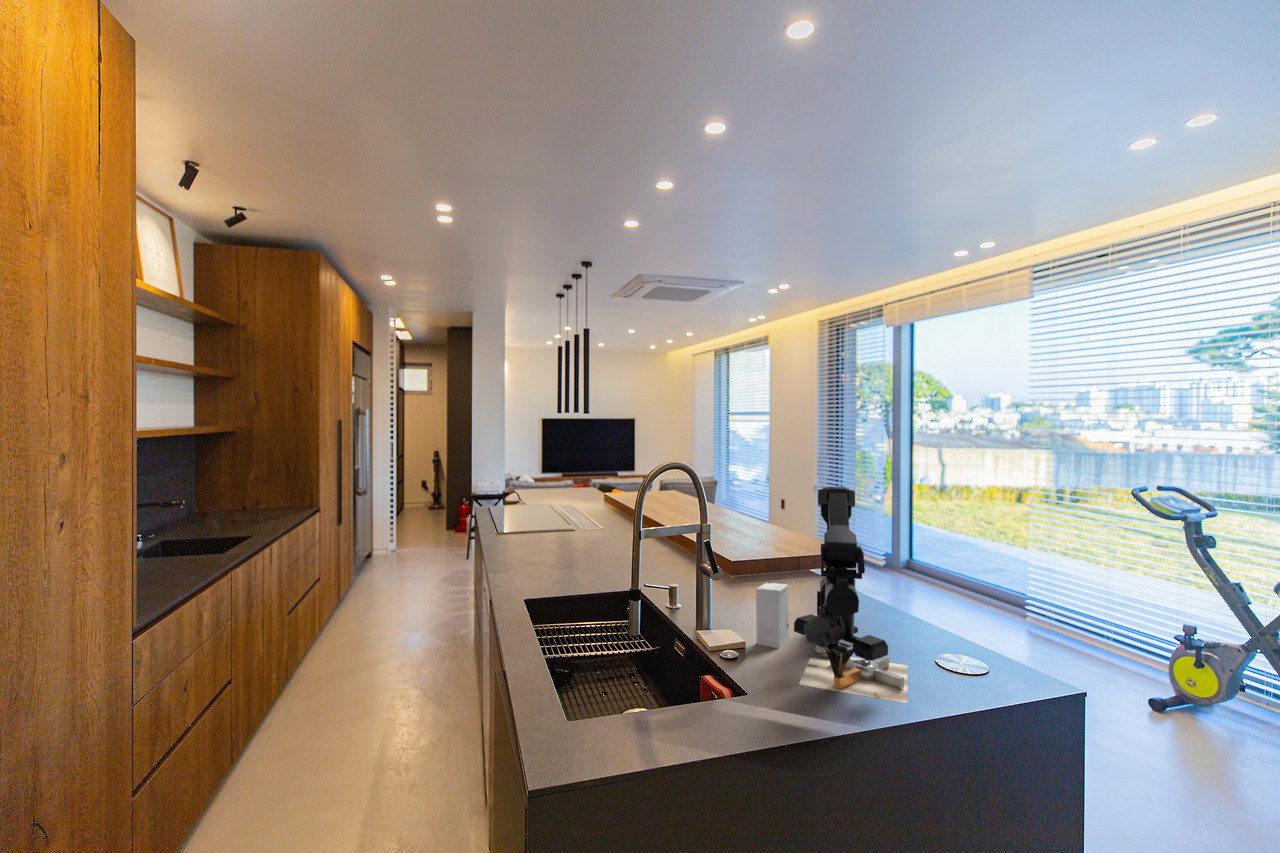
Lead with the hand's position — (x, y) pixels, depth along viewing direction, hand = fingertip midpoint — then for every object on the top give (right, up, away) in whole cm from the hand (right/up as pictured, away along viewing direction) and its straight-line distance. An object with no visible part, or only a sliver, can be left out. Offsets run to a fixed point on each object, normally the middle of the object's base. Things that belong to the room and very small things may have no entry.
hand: (837, 678), depth 121 cm
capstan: (+6, -1, +3) cm, 7 cm away
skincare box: (-8, -3, +25) cm, 26 cm away
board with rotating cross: (+5, -3, +5) cm, 8 cm away
